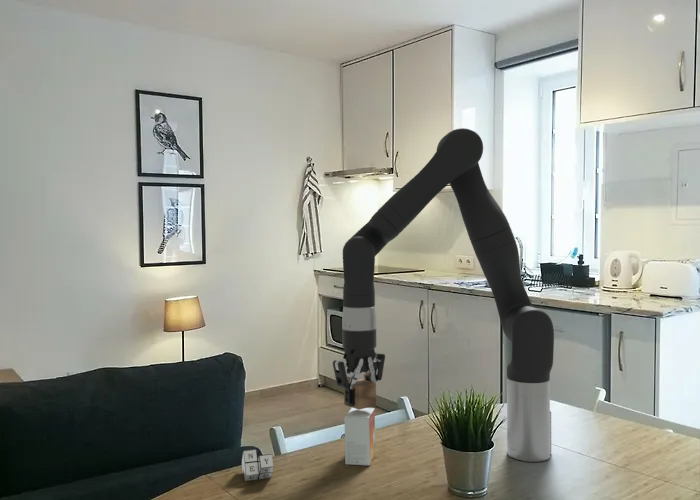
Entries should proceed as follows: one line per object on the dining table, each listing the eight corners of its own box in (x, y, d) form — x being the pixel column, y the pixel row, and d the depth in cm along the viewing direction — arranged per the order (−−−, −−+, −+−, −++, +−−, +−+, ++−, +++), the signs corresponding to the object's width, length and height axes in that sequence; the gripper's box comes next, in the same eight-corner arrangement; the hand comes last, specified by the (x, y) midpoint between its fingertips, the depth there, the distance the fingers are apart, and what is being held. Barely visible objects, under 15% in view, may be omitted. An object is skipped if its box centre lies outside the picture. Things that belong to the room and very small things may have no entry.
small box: (370, 466, 130) (369, 418, 130) (344, 465, 131) (343, 416, 131) (375, 453, 138) (375, 407, 138) (351, 452, 139) (351, 406, 139)
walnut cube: (360, 400, 138) (360, 378, 138) (376, 405, 134) (375, 382, 134) (344, 405, 135) (343, 382, 135) (359, 409, 131) (359, 386, 131)
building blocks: (244, 486, 125) (246, 469, 120) (241, 462, 129) (244, 444, 123) (269, 483, 127) (273, 466, 121) (266, 459, 130) (270, 441, 125)
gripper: (345, 332, 127) (346, 413, 127) (394, 325, 136) (394, 400, 136) (323, 328, 132) (324, 406, 133) (371, 321, 142) (371, 394, 142)
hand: (360, 402), depth 134 cm, fingers closed on walnut cube, 5 cm apart
